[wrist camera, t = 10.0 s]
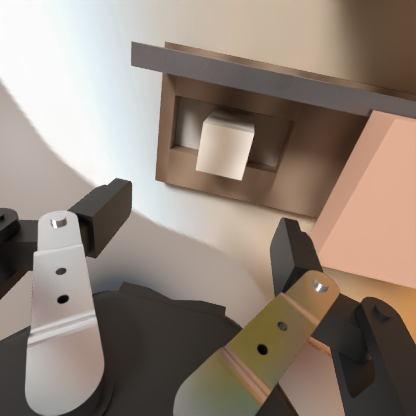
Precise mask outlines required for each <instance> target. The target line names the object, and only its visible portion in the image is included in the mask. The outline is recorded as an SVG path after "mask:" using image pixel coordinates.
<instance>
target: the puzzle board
mask: <svg viewBox="0 0 416 416" xmlns="http://www.w3.org/2000/svg"><path fill="white" fill-rule="evenodd" d="M131 66H135V67H140V68H145V69H149V70H154V71H159V72H163V78H162V92H161V106H160V120H159V134H158V149H157V163H156V177H155V180H157V181H161V182H165V183H170V184H174V185H178V186H182V187H187V188H191V189H195V190H199V191H204V192H208V193H212V194H217V195H221V196H225V197H229V198H234V199H238V200H242V201H246V202H251V203H255V204H259V205H264V206H268V207H272V208H276V209H281V210H285V211H289V212H293V213H298V214H302V215H306V216H311V217H315V218H319V216H320V214H321V212H322V210H323V208H324V206H325V204H326V202H327V200H328V198H329V196H330V194H331V192H332V190H333V188H334V187H335V185H336V183H337V181H338V179H339V177H340V175H341V173H342V171H343V169H344V167H345V165H346V163H347V161H348V159H349V157H350V155H351V153H352V151H353V149H354V147H355V145H356V143H357V141H358V140H359V138H360V136H361V134H362V132H363V130H364V128H365V126H366V124H367V122H368V120H369V118H370V116H371V114H372V112H373V110H375V111H380V112H385V113H389V114H394V115H399V116H403V117H408V118H413V119H416V95H415V94H411V93H406V92H401V91H396V90H392V89H387V88H382V87H377V86H373V85H368V84H363V83H358V82H354V81H349V80H344V79H340V78H335V77H330V76H325V75H321V74H316V73H311V72H306V71H302V70H297V69H292V68H287V67H283V66H278V65H273V64H268V63H264V62H259V61H254V60H249V59H245V58H240V57H235V56H231V55H226V54H221V53H216V52H212V51H207V50H202V49H197V48H193V47H188V46H183V45H178V44H174V43H169V42H165V48H163V47H158V46H153V45H147V44H142V43H137V42H132V47H131ZM179 96H182V97H186V98H191V99H195V100H200V101H205V102H209V103H214V104H218V105H223V106H227V107H232V108H236V109H241V110H246V111H250V112H255V113H259V114H264V115H268V116H273V117H277V118H282V119H287V120H291V121H292V122H291V125H290V128H289V131H288V134H287V137H286V139H285V142H284V145H283V148H282V151H281V154H280V157H279V159H278V162H277V165H276V168H275V167H271V166H266V165H262V164H258V163H253V162H249V161H247V162H246V166H245V170H244V173H243V177H242V180H237V179H232V178H228V177H224V176H219V175H215V174H211V173H206V172H202V171H197V170H196V165H197V159H198V152H199V150H196V149H192V148H187V147H183V146H179V145H174V143H175V134H176V124H177V115H178V106H179Z"/></svg>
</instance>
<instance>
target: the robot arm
mask: <svg viewBox="0 0 416 416" xmlns="http://www.w3.org/2000/svg"><path fill="white" fill-rule="evenodd" d="M131 208H132V183H131V181H127V180H123V179H119V178H116V179H114V180H113V181H112V182H111V183H110V184H108V185H102V186H100V187H97V188H95V189H94V190H92V191H91V192H90V193H89V194H87V195H86V196H85V197H84V198H83V199H81V200H80V201H79V202H77V203H76V204H75V205H74V206H72V207H71V208H70V209H69V210H67V211H54V212H50V213H48V214H45V215H44V216H42V217H41V218H40V220H19V218H18V214H17V212H16V211H14V210H12V209H8V208H0V299H2V297H3V296H4V295H5V294H6V293H7V292H8V291H9V290H10V289H11V288H12V287H13V286H14V285H15V284H16V283H17V282H18V281H19V280H20V279H21V278H22V277H23V276H24V275H25V274H26V273H27V272H28V271H33V287H32V314H31V326H29V327H26V328H24V329H23V330H20V331H18V332H17V333H14V334H13V335H11V336H9V337H7V338H5V339H3V340H1V341H0V416H299V415H298V413H297V412H296V410H295V409H294V407H293V405H292V404H291V402H290V401H289V399H288V397H287V396H286V394H285V393H284V391H283V389H282V388H281V386H280V385H279V383H278V382H279V380H280V379H281V377H282V376H283V374H284V373H285V372H286V370H287V369H288V367H289V366H290V364H291V363H292V361H293V360H294V359H295V357H296V356H297V354H298V353H299V352H300V350H301V349H302V347H303V346H304V344H305V343H306V342H307V340H308V339H309V337H310V336H311V337H313V338H315V339H316V340H318V341H320V342H322V343H324V344H325V345H327V346H329V347H330V350H331V354H332V359H333V363H334V368H335V372H336V377H337V381H338V385H339V390H340V394H341V399H342V403H343V407H344V412H345V416H416V344H415V343H414V341H413V339H412V337H411V335H410V333H409V331H408V330H407V328H406V326H405V324H404V322H403V320H402V318H401V317H400V315H399V314H398V313H397V312H396V311H395V310H394V309H393V308H392V307H391V306H390V305H388V304H387V303H385V302H384V301H382V300H380V299H377V298H374V297H366V298H364V299H363V300H362V301H361V302H360V303H359V302H357V301H355V300H353V299H351V298H349V297H347V296H345V295H343V294H341V293H340V291H339V287H338V285H337V284H336V283H335V281H334V280H333V279H332V278H330V277H329V276H327V275H326V274H324V273H323V270H322V267H321V264H320V261H319V258H318V256H317V254H316V250H315V248H314V244H313V242H312V239H311V238H310V237H309V236H308V235H307V234H306V232H302V231H301V230H300V227H299V223H298V221H296V220H292V219H288V218H284V217H283V218H281V220H280V222H279V225H278V227H277V229H276V232H275V234H274V237H273V239H272V242H271V246H270V257H271V266H272V275H273V285H274V294H275V298H274V299H273V300H272V301H271V302H270V303H269V304H268V305H267V306H266V307H265V308H264V309H263V310H262V311H261V312H260V313H259V314H258V315H257V316H256V317H255V318H254V319H253V320H252V321H251V322H249V323H248V325H246V326H245V327H244V328H242V327H241V326H240V325H238V324H237V323H236V322H235V321H233V320H232V319H230V318H229V317H227V316H225V310H226V307H224V306H220V305H216V304H212V303H208V302H204V301H193V300H172V299H169V298H167V297H166V296H163V295H162V294H160V293H158V292H156V291H154V290H152V289H150V288H147V287H143V286H139V285H135V284H131V283H127V282H123V284H122V285H121V287H120V289H115V290H106V291H102V292H98V293H95V294H92V292H91V288H90V281H89V276H88V270H87V265H86V259H85V257H86V256H88V257H92V258H97V257H98V255H99V254H100V253H101V252H102V250H103V249H104V248H105V246H106V245H107V244H108V243H109V241H110V240H111V239H112V237H113V236H114V235H115V234H116V232H117V231H118V230H119V228H120V227H121V226H122V225H123V224H124V222H125V221H126V220H127V219H128V217H129V215H130V212H131Z"/></svg>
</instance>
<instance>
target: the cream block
mask: <svg viewBox="0 0 416 416" xmlns="http://www.w3.org/2000/svg"><path fill="white" fill-rule="evenodd" d="M253 137H254V116H249V115H245V114H240V113H235V112H231V111H226V110H222V109H217V108H215V109H214V110H213V111H212V113H211V114H210V115H209V116H208V117H207V119H206V120H205V121H204V122H203V128H202V134H201V140H200V146H199V152H198V159H197V165H196V170H197V171H202V172H206V173H211V174H215V175H219V176H224V177H228V178H232V179H237V180H242V177H243V173H244V170H245V166H246V162H247V159H248V155H249V151H250V148H251V144H252V141H253Z"/></svg>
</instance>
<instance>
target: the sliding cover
mask: <svg viewBox="0 0 416 416" xmlns="http://www.w3.org/2000/svg"><path fill="white" fill-rule="evenodd" d="M309 237H310V238H311V239H312V242H313V244H314V248H315V250H316V254H317V256H318V258H319V261H320V264H321V266H324V267H328V268H332V269H336V270H340V271H344V272H348V273H353V274H357V275H361V276H365V277H369V278H373V279H377V280H382V281H386V282H390V283H394V284H398V285H402V286H406V287H411V288H415V289H416V119H413V118H408V117H403V116H399V115H394V114H389V113H385V112H380V111H375V110H373V112H372V114H371V116H370V118H369V120H368V122H367V124H366V126H365V128H364V130H363V132H362V134H361V136H360V138H359V140H358V141H357V143H356V145H355V147H354V149H353V151H352V153H351V155H350V157H349V159H348V161H347V163H346V165H345V167H344V169H343V171H342V173H341V175H340V177H339V179H338V181H337V183H336V185H335V187H334V188H333V190H332V192H331V194H330V196H329V198H328V200H327V202H326V204H325V206H324V208H323V210H322V212H321V214H320V216H319V218H318V220H317V222H316V224H315V226H314V228H313V230H312V232H311V234H310V236H309Z"/></svg>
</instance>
